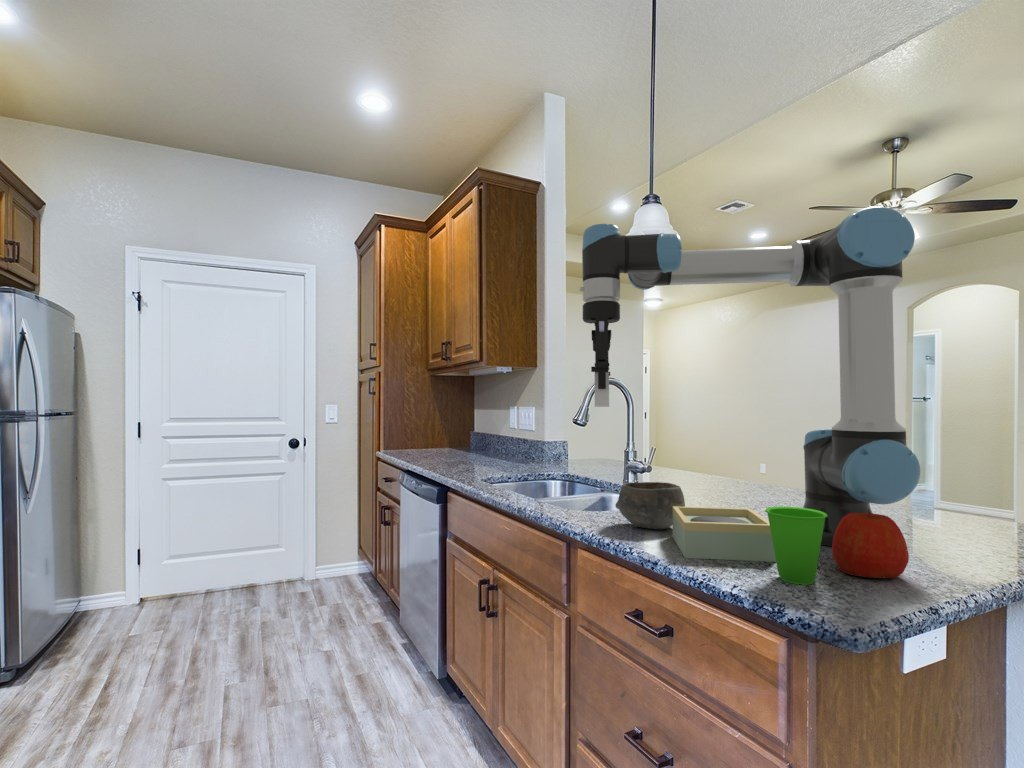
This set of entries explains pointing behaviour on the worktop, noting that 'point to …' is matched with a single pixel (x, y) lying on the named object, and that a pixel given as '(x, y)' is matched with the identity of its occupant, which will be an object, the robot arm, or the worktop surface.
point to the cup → (796, 542)
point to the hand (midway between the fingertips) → (601, 406)
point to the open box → (722, 534)
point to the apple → (869, 546)
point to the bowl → (650, 503)
